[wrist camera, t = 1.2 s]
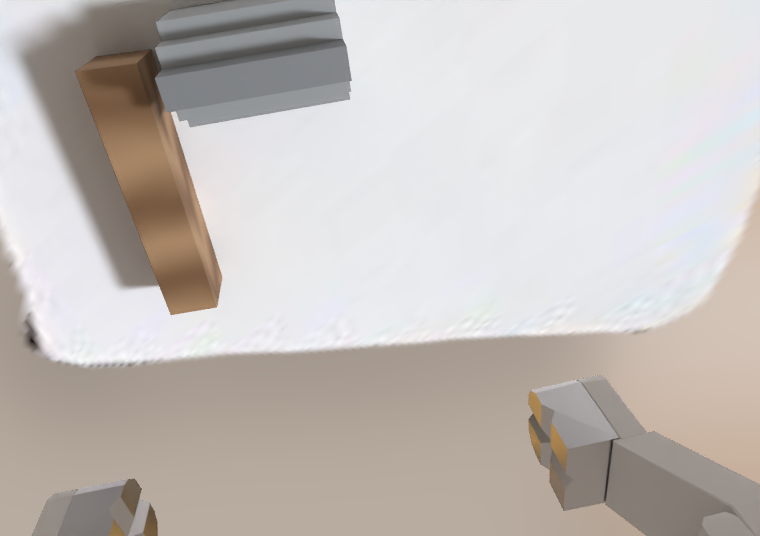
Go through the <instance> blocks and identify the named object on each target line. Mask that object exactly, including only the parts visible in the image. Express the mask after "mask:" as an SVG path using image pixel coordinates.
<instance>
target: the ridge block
mask: <svg viewBox="0 0 760 536" xmlns="http://www.w3.org/2000/svg"><path fill="white" fill-rule="evenodd" d="M155 23H156V26H157V29H158V32H159V35H160V38H161V41H162V42H161V43H159V44H158V45H157V46H156V47H155V51H156V53H157V56H158V59H159V62H160V65H161V68H162V70H161V71H160V72H159V74H158V75H157V76H156V77H155V80H156V83H157V86H158V89H159V92H160V95H161V98H162V101H163V103H164V106H165V109H166V112H173V111H176V113H177V116H178V118H179V121H184V120H188V123H189V126H190V127H194V126H200V125H206V124H211V123H217V122H223V121H229V120H234V119H240V118H246V117H252V116H257V115H263V114H269V113H274V112H280V111H286V110H292V109H297V108H303V107H309V106H315V105H320V104H326V103H332V102H338V101H343V100H349V99H350V96H349V92H351V89H350V83H349V81H352V80H351V74H350V67H349V61H348V54H347V48H346V44H345V43H344V41H343V38H342V32H341V25H340V19H339V16H338V15H337V13H336V8H335V1H334V0H231V1H225V2H218V3H212V4H206V5H200V6H194V7H188V8H181V9H175V10H170V11H169V12H168V13H167V14H165V15H164V16H163V17H162V18H160V19H159V20H158V21H156V22H155Z"/></svg>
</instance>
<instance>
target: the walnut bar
mask: <svg viewBox="0 0 760 536" xmlns="http://www.w3.org/2000/svg"><path fill="white" fill-rule="evenodd" d="M75 73H76V75H77V78H78V80H79V83H80V86H81V88H82V91H83V93H84V96H85V98H86V101H87V103H88V106H89V108H90V111H91V114H92V116H93V119H94V121H95V124H96V126H97V129H98V131H99V134H100V136H101V139H102V141H103V144H104V147H105V149H106V152H107V154H108V157H109V159H110V162H111V164H112V167H113V169H114V172H115V174H116V177H117V180H118V182H119V185H120V187H121V190H122V192H123V195H124V197H125V200H126V202H127V205H128V208H129V210H130V213H131V215H132V218H133V220H134V223H135V225H136V228H137V230H138V233H139V235H140V238H141V241H142V243H143V246H144V248H145V251H146V253H147V256H148V258H149V261H150V263H151V266H152V268H153V271H154V274H155V276H156V279H157V281H158V284H159V286H160V289H161V291H162V294H163V296H164V299H165V301H166V304H167V307H168V309H169V312H170V314H171V315H174V314H180V313H186V312H192V311H198V310H204V309H210V308H216V307H217V305H218V299H219V293H220V287H221V281H222V275H221V272H220V268H219V265H218V262H217V259H216V256H215V252H214V249H213V246H212V243H211V240H210V237H209V233H208V230H207V227H206V224H205V221H204V217H203V214H202V211H201V208H200V205H199V201H198V198H197V195H196V192H195V189H194V185H193V182H192V179H191V176H190V173H189V169H188V166H187V163H186V160H185V157H184V153H183V150H182V147H181V144H180V141H179V137H178V134H177V131H176V128H175V125H174V121H173V118H172V115H171V112H166V109H165V106H164V103H163V101H162V98H161V95H160V92H159V89H158V86H157V83H156V80H155V77H156V76H157V75H158V74H159V73H158V70H157V67H156V64H155V61H154V57H153V54H152V51H151V49H150V50H143V51H135V52H128V53H120V54H113V55H105V56H98V57H95V58H94V59H92V60H91V61H89V62H88V63H87V64H85V65H84V66H82V67H81V68H80V69H78V70H77V71H75Z"/></svg>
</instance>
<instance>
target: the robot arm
mask: <svg viewBox="0 0 760 536" xmlns="http://www.w3.org/2000/svg"><path fill="white" fill-rule="evenodd" d="M529 406H530V408H531V410H532V412H533V414H532V416H531V417H530V418H529V433H530V438H531V442H532V445H533V448H534V451H535V454H536V456H537V458H538V460H539V462H540V464H541V465H543V466H544V467H546V468H548V469H549V470H550V484H551V486H552V488H553V490H554V492H555V494H556V496H557V498H558V500H559V502H560V504H561V506H562V508H563V510H564V511H566V510H571V509H575V508H581V507H585V506H590V505H595V504H600V503H605V502H606V505H607V506H608V507H609V508H611V509H612V510H613V511H615V512H616V513H617V514H618V515H620V516H621V517H623V518H624V519H625V520H626V521H628V522H629V523H630V524H632V525H633V526H634V527H636V528H637V529H638V530H639V531H641V532H642V533H643V534H645V535H646V536H760V484H758V483H756V482H754V481H752V480H750V479H748V478H746V477H744V476H742V475H740V474H738V473H736V472H734V471H732V470H730V469H728V468H726V467H724V466H722V465H720V464H718V463H716V462H714V461H712V460H710V459H708V458H706V457H704V456H702V455H700V454H698V453H696V452H694V451H692V450H690V449H689V448H687V447H684V446H683V445H681V444H678V443H676V442H675V441H673V440H670V439H669V438H667V437H664V436H663V435H661V434H659V433H657V432H655V431H653V432H648V433H647V432H646V430H645V429H644V428H643V427H642V425H641V424H640V423H639V421H638V420H637V419H636V418H635V416H634V415H633V413H632V412H631V411H630V409H629V408H628V407H627V406H626V404H625V403H624V402H623V400H622V399H621V398H620V396H619V395H618V394H617V392H616V391H615V390H614V388H613V387H612V386H611V384H610V383H609V382H608V381H607V379H606V378H605V377H604V376H602V375H597V376H592V377H588V378H583V379H579V380H576V381H575V380H573V381H569V382H565V383H560V384H556V385H552V386H547V387H543V388H539V389H535V390H531V391H530V393H529ZM141 490H142V489H141V487H140V486H139V484H138V483H137V481H136V480H135V479H126V480H121V481H116V482H110V483H105V484H100V485H96V486H90V487H85V488H80V489H76V490H71V491H66V492H61V493H56V494H53V495H52V496H51V498H49V499H48V500H47V502H46V504H45V507H44V509H43V511H42V513H41V516H40V518H39V520H38V523H37V525H36V527H35V529H34V532H33V534H32V536H158V527H157V519H156V515H155V511H154V510H153V508H152V506H151V504H150V503H148V502H146V501H144V500H142V499H140V493H141Z"/></svg>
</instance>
